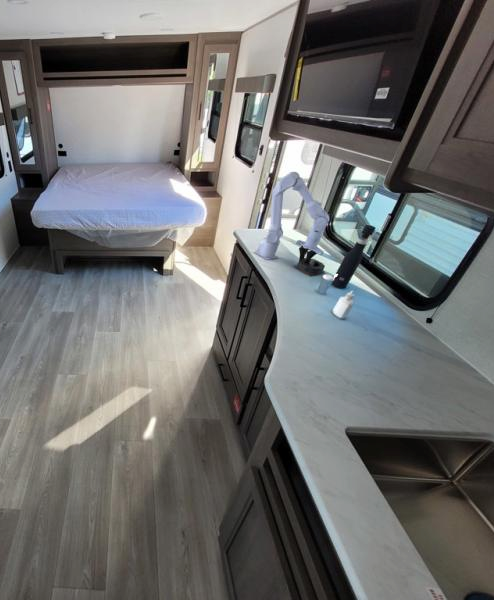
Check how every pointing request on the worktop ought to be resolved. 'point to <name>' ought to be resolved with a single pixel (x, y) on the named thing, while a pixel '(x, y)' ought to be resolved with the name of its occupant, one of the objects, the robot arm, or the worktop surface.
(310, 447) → the worktop surface
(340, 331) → the worktop surface
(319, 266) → the ring
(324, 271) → the stand
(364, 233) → the black thermos flask
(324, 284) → the milkshake
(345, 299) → the eye dropper bottle
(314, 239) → the robot arm
